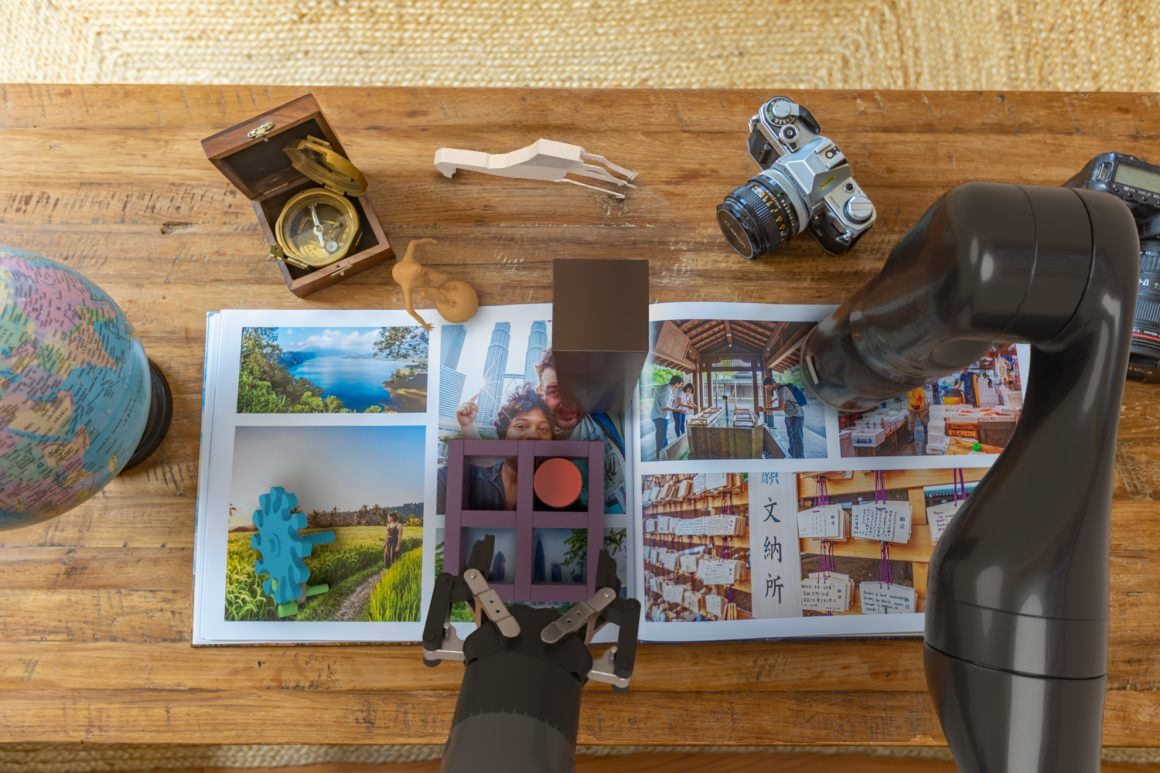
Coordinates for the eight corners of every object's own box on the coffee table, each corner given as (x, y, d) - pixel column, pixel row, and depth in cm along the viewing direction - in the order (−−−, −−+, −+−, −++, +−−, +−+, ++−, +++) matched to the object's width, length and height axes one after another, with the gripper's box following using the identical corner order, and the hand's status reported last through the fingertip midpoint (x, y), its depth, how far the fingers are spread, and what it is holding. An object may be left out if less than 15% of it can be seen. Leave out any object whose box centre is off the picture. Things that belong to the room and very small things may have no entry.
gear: (242, 486, 71) (292, 489, 64) (304, 480, 75) (358, 482, 68) (246, 610, 71) (297, 626, 64) (309, 596, 75) (363, 611, 68)
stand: (626, 350, 75) (649, 259, 49) (626, 413, 74) (649, 352, 48) (563, 349, 75) (553, 257, 49) (562, 412, 74) (551, 351, 48)
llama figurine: (598, 204, 84) (432, 156, 78) (646, 165, 74) (459, 106, 67) (595, 221, 84) (429, 174, 77) (644, 183, 73) (456, 125, 67)
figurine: (479, 350, 75) (460, 317, 63) (416, 349, 75) (385, 316, 63) (482, 266, 76) (464, 219, 65) (420, 266, 76) (390, 218, 65)
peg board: (603, 445, 73) (604, 441, 69) (602, 598, 71) (603, 602, 67) (455, 443, 73) (448, 438, 70) (449, 596, 71) (441, 600, 67)
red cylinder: (582, 465, 73) (582, 458, 65) (581, 509, 72) (581, 506, 64) (539, 465, 73) (534, 457, 65) (538, 508, 72) (533, 506, 64)
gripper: (392, 772, 48) (453, 570, 61) (623, 806, 48) (634, 595, 61) (386, 700, 44) (453, 500, 57) (640, 737, 43) (648, 527, 57)
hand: (546, 549), depth 59 cm, fingers open, 8 cm apart
